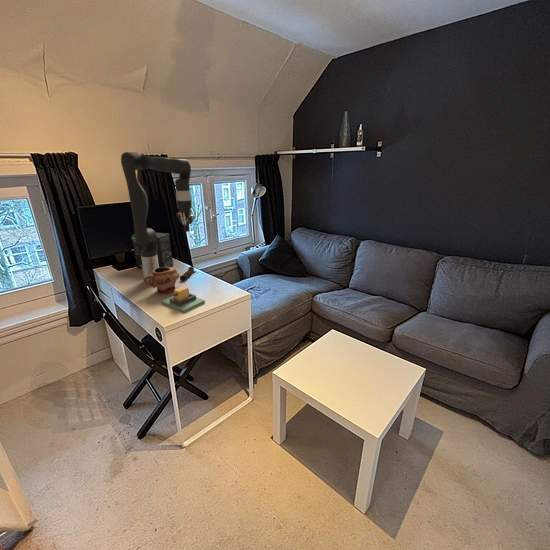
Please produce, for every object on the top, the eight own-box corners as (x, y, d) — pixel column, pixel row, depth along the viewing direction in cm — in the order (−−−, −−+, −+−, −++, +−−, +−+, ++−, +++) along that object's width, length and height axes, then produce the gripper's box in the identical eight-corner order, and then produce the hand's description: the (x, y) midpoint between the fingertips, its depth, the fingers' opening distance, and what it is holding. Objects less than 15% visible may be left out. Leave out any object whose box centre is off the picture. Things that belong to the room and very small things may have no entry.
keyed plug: (172, 303, 156) (170, 291, 153) (185, 297, 163) (184, 285, 160) (177, 305, 154) (175, 293, 151) (190, 299, 161) (189, 287, 158)
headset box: (136, 268, 210) (130, 232, 201) (147, 262, 221) (142, 228, 211) (163, 271, 204) (158, 234, 195) (173, 266, 215) (169, 230, 205)
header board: (161, 303, 159) (161, 297, 158) (182, 294, 170) (182, 288, 169) (184, 312, 150) (183, 306, 148) (204, 302, 160) (204, 296, 159)
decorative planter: (150, 300, 163) (146, 276, 158) (142, 292, 171) (138, 270, 166) (184, 290, 175) (182, 268, 170) (175, 284, 183) (173, 262, 178)
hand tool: (185, 281, 188) (185, 275, 186) (179, 281, 188) (179, 274, 187) (197, 271, 205) (197, 265, 204) (192, 271, 206) (191, 264, 204)
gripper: (197, 199, 157) (200, 231, 163) (181, 197, 164) (184, 228, 170) (186, 201, 151) (189, 234, 157) (169, 199, 158) (173, 231, 164)
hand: (186, 231), depth 164 cm, fingers closed
